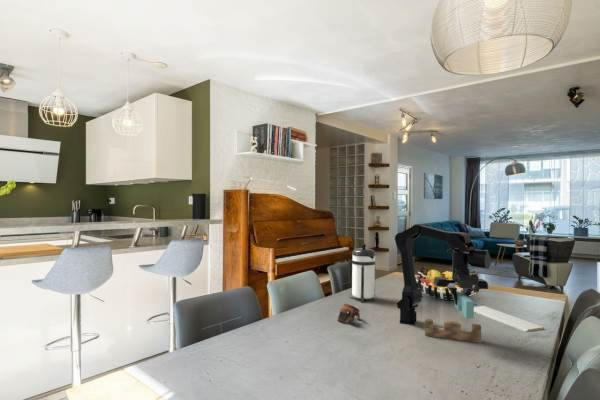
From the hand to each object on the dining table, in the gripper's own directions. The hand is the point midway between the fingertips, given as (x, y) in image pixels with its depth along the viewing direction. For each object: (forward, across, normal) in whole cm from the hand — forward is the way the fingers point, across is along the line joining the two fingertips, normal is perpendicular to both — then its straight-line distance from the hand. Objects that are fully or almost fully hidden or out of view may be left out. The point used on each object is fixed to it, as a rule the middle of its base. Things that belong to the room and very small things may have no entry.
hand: (459, 304), depth 136 cm
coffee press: (+13, -36, +49) cm, 63 cm away
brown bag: (+13, -43, +11) cm, 46 cm away
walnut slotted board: (+13, -3, 0) cm, 13 cm away
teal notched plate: (+2, 0, -5) cm, 5 cm away
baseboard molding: (+14, +26, +28) cm, 41 cm away
